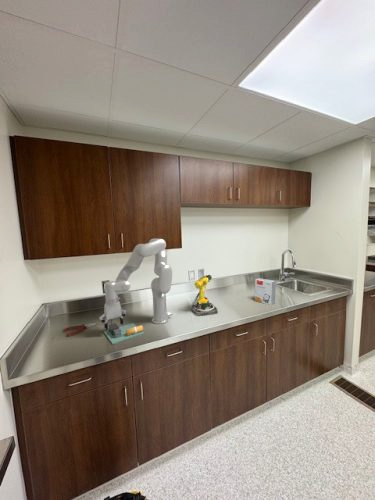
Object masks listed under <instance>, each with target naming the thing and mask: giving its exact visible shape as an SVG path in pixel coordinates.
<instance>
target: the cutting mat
mask: <svg viewBox="0 0 375 500" xmlns="http://www.w3.org/2000/svg"><path fill="white" fill-rule="evenodd" d="M118 327H119V329H120V330H121V335H122V337H118V338H115V337H114V336H113V335H112V334H111V333H110V332H109V329H106V330H103V333H104V334H105V336H106V338H107V339H108V340H109V342H110V343H111V344H112V345H115V344H118V343H122V342H124V341H127V340H130V339H134V338H136V337H140V336H142V335H145V332H144V331H143V330H144V327H143V325H136V324H135V322H134V323H133V322H131V323H129V324H125V325H124V324H123V325H120V326H118Z"/></svg>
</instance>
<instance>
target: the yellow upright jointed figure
mask: <svg viewBox="0 0 375 500" xmlns="http://www.w3.org/2000/svg"><path fill="white" fill-rule="evenodd" d="M212 278H213V277H212V275H211V274H208V275H203V277H200V278H199V279H197V280H196V281H195V282H194V287H195V288H196V289H199V292H198V293H197V295H196V297H195V299H194V301H193V303H192V304H191V310H192V311H193V312H194V314H195V315H196V316H208V315H211V314H215V315H216V314H218V313H219V311H218V308H217V307H216V306H215V305H214V304H213V303H211V302H210V301H209V298H208V297H205V294H206V293H205V291H206V286H207V285H208V283H209V282H210V281H211V280H212ZM208 307H211V308H209V309H207V308H208Z"/></svg>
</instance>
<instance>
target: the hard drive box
mask: <svg viewBox="0 0 375 500" xmlns="http://www.w3.org/2000/svg"><path fill="white" fill-rule="evenodd" d="M254 302H257V303H261V304H265V305H269V306H272V305H275V304H276V280H273V279H268V278H267V279H265V278H260V277H258V278H255V279H254Z"/></svg>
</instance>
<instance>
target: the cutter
mask: <svg viewBox="0 0 375 500" xmlns="http://www.w3.org/2000/svg"><path fill="white" fill-rule="evenodd" d="M119 327H120V326H119V325H118V324H117V323H110V324H108V330H109V332H110V333H111V334H112V335H113V336H114V337H115V338H118V337H122V335H121V330H120V329H119Z"/></svg>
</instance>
